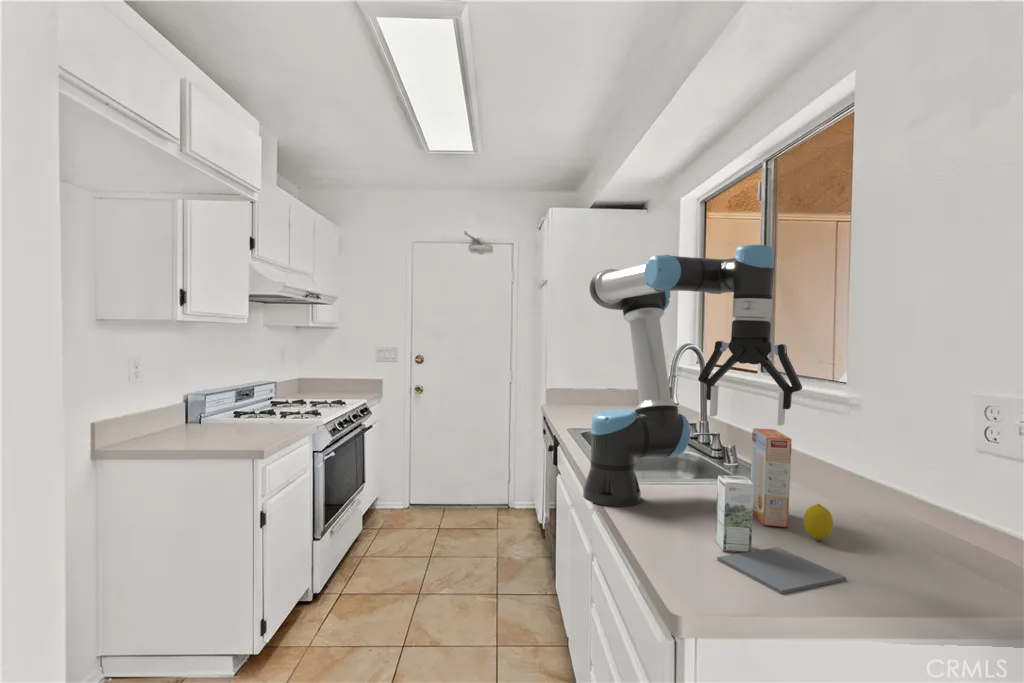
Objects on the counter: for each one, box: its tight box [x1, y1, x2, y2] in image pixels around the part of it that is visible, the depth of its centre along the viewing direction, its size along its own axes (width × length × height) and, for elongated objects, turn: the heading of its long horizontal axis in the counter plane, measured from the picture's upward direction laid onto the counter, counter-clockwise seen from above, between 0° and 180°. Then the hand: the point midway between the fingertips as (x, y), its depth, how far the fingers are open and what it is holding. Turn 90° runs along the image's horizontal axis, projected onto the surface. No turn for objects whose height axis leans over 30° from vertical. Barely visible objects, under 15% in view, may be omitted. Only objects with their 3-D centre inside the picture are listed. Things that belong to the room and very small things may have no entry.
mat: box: [716, 546, 847, 595], centre depth 104 cm, size 15×16×1 cm
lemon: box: [803, 503, 834, 541], centre depth 120 cm, size 6×6×8 cm
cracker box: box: [750, 427, 793, 528], centre depth 135 cm, size 14×6×21 cm, turn 168°
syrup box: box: [715, 474, 754, 553], centre depth 115 cm, size 6×6×14 cm
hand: (745, 420), depth 117 cm, fingers open, 13 cm apart
